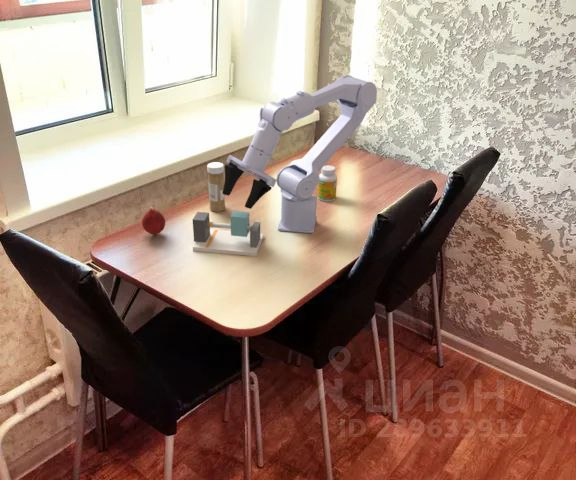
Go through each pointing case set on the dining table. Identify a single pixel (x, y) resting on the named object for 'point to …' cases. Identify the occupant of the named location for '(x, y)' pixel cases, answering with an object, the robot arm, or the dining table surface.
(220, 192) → the sprinkles bottle
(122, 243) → the dining table surface
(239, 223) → the sleeve
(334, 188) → the supplement bottle
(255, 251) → the sliding block rail
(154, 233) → the onion
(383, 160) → the dining table surface
